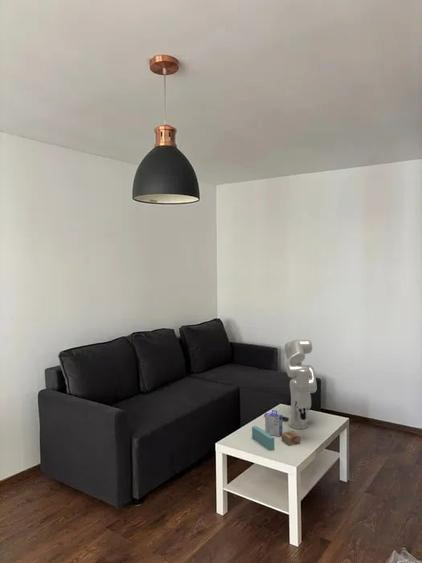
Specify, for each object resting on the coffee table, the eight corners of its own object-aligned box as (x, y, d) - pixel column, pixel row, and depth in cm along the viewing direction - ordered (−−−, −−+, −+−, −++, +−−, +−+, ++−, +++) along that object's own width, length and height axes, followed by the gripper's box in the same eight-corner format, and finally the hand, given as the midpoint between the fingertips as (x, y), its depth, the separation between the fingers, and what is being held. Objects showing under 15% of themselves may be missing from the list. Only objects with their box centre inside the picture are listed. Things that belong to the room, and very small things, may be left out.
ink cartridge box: (283, 433, 267) (282, 411, 266) (279, 437, 262) (279, 414, 261) (268, 430, 272) (268, 408, 271) (265, 433, 267) (264, 411, 267)
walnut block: (292, 438, 260) (292, 430, 259) (300, 443, 252) (300, 435, 252) (281, 441, 257) (281, 432, 256) (288, 446, 249) (288, 437, 249)
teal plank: (256, 436, 263) (256, 425, 262) (274, 449, 244) (274, 437, 244) (252, 437, 261) (252, 426, 261) (270, 450, 243) (270, 438, 243)
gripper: (308, 386, 263) (308, 415, 264) (289, 389, 257) (289, 419, 257) (316, 389, 257) (316, 419, 257) (296, 392, 250) (296, 423, 250)
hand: (303, 419), depth 257 cm, fingers closed
